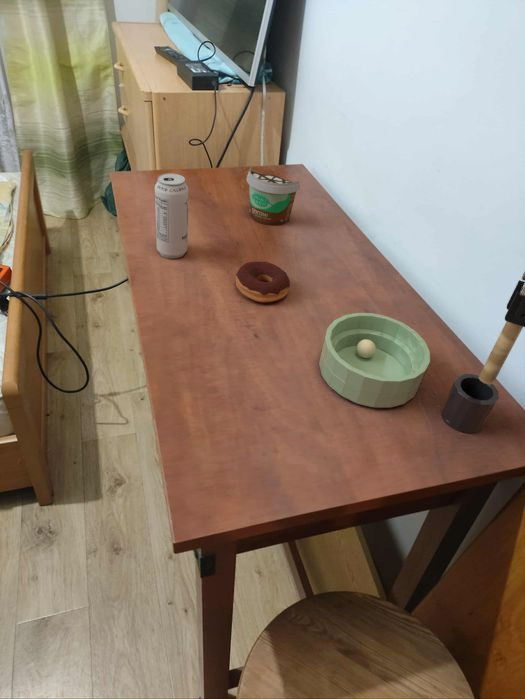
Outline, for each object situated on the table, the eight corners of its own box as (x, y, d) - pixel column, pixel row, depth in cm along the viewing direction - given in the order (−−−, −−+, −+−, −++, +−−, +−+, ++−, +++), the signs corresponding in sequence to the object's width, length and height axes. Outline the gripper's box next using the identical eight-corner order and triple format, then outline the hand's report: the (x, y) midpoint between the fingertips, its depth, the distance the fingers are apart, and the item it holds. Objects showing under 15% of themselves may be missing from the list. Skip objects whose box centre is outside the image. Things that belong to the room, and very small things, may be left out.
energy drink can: (190, 258, 100) (191, 185, 90) (160, 261, 98) (157, 186, 88) (183, 243, 104) (184, 171, 95) (154, 245, 102) (151, 172, 93)
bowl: (401, 342, 87) (411, 314, 83) (431, 411, 75) (445, 382, 71) (311, 340, 85) (318, 311, 81) (328, 410, 73) (336, 380, 69)
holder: (472, 402, 77) (488, 374, 73) (489, 433, 73) (506, 404, 69) (435, 402, 76) (448, 373, 73) (449, 433, 72) (464, 404, 68)
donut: (294, 304, 92) (297, 286, 89) (240, 307, 90) (242, 288, 87) (281, 274, 99) (283, 256, 97) (231, 275, 97) (232, 257, 94)
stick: (489, 374, 70) (541, 274, 60) (496, 384, 68) (550, 284, 58) (476, 374, 70) (526, 274, 59) (482, 384, 68) (534, 283, 58)
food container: (234, 218, 115) (238, 175, 108) (245, 208, 119) (249, 166, 113) (285, 233, 112) (292, 189, 106) (294, 222, 117) (301, 179, 110)
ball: (370, 349, 83) (375, 335, 81) (375, 362, 81) (379, 348, 79) (352, 349, 83) (356, 335, 81) (356, 361, 81) (361, 347, 79)
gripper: (646, 207, 44) (549, 365, 56) (629, 156, 55) (551, 296, 67) (554, 185, 46) (479, 342, 58) (556, 140, 57) (493, 279, 69)
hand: (518, 316), depth 62 cm, fingers closed on stick, 2 cm apart
